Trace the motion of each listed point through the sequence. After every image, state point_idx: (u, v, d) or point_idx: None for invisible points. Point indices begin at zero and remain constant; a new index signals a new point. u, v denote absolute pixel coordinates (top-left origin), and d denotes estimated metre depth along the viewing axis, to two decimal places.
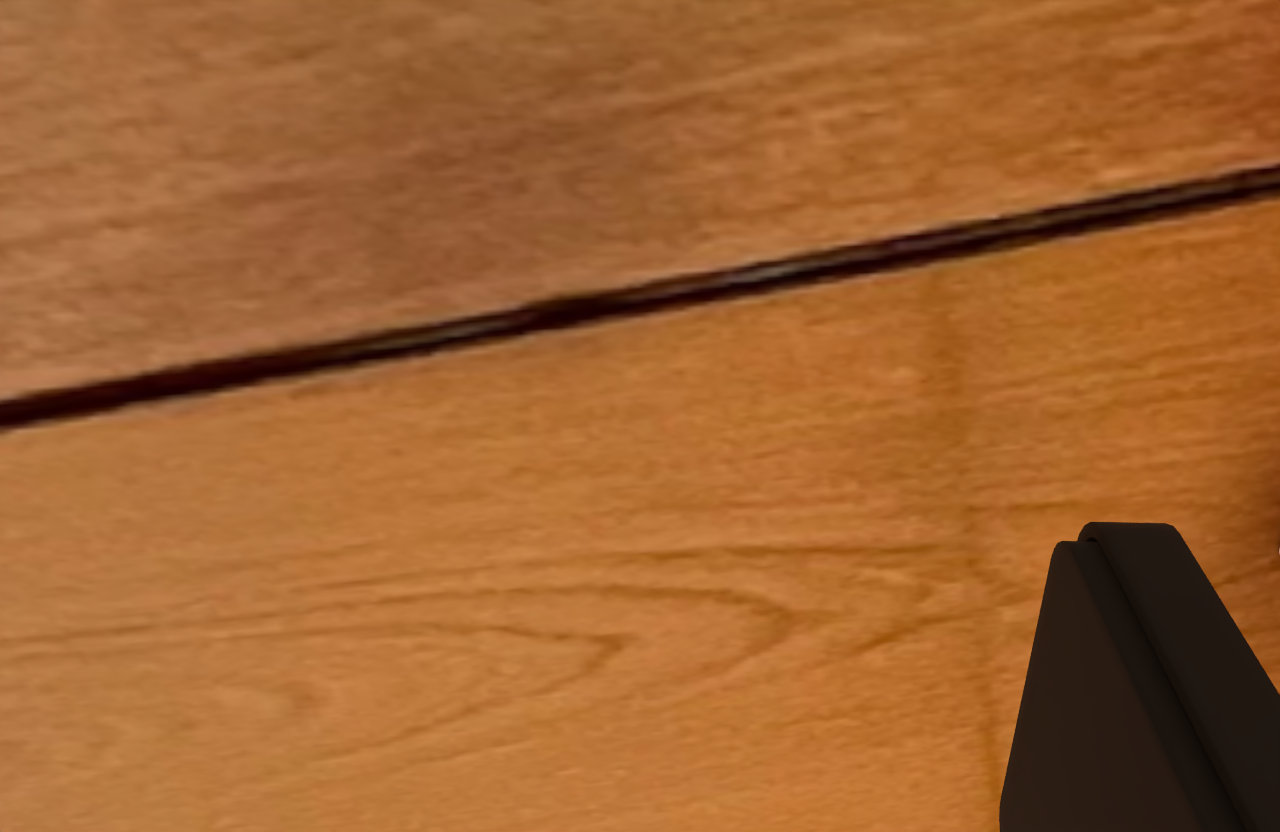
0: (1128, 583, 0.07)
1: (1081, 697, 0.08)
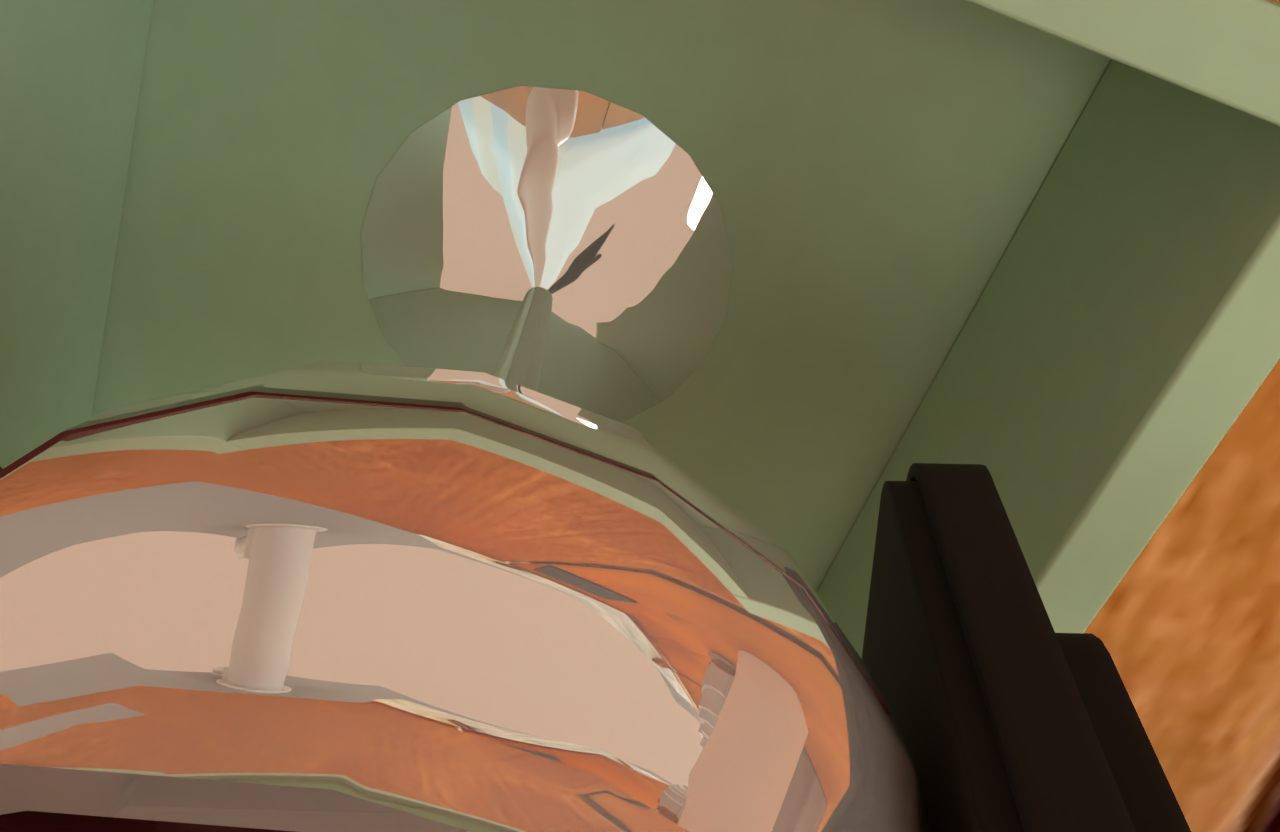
0: (933, 514, 0.08)
1: (894, 621, 0.08)
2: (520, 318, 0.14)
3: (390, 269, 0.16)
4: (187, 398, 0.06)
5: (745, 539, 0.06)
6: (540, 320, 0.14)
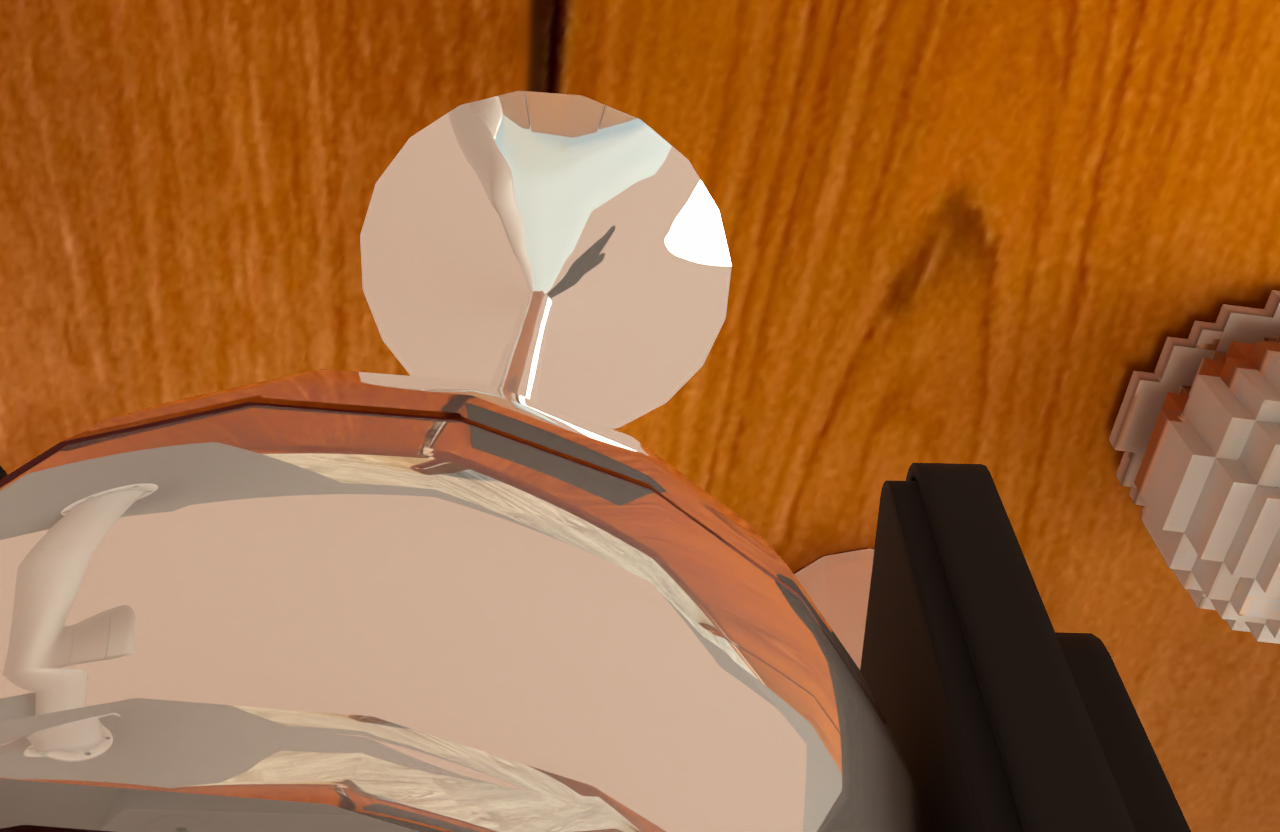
0: (933, 515, 0.08)
1: (894, 621, 0.08)
2: (519, 323, 0.14)
3: (389, 274, 0.16)
4: (186, 408, 0.06)
5: (742, 548, 0.06)
6: (539, 325, 0.14)
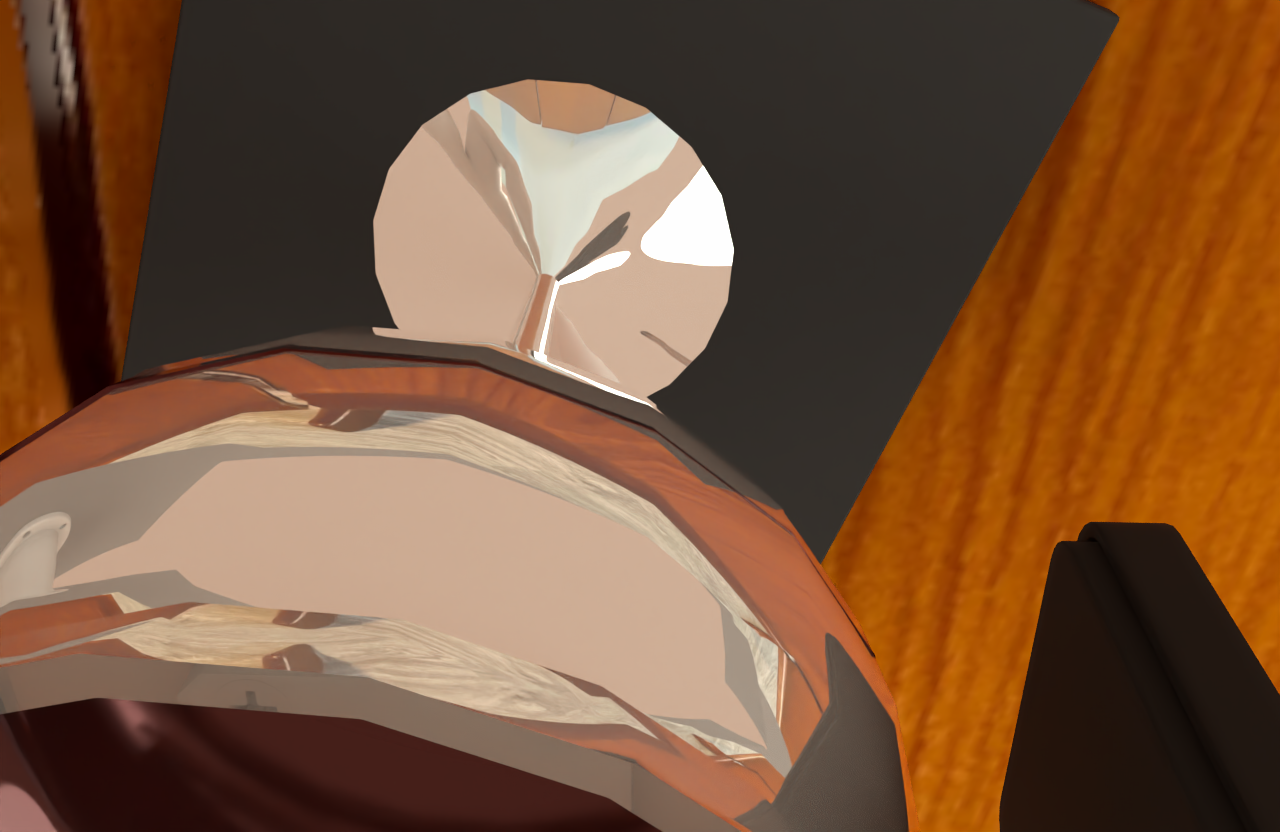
0: (1128, 583, 0.07)
1: (1081, 697, 0.08)
2: (527, 303, 0.15)
3: (401, 257, 0.16)
4: (223, 357, 0.07)
5: (739, 489, 0.07)
6: (546, 305, 0.15)
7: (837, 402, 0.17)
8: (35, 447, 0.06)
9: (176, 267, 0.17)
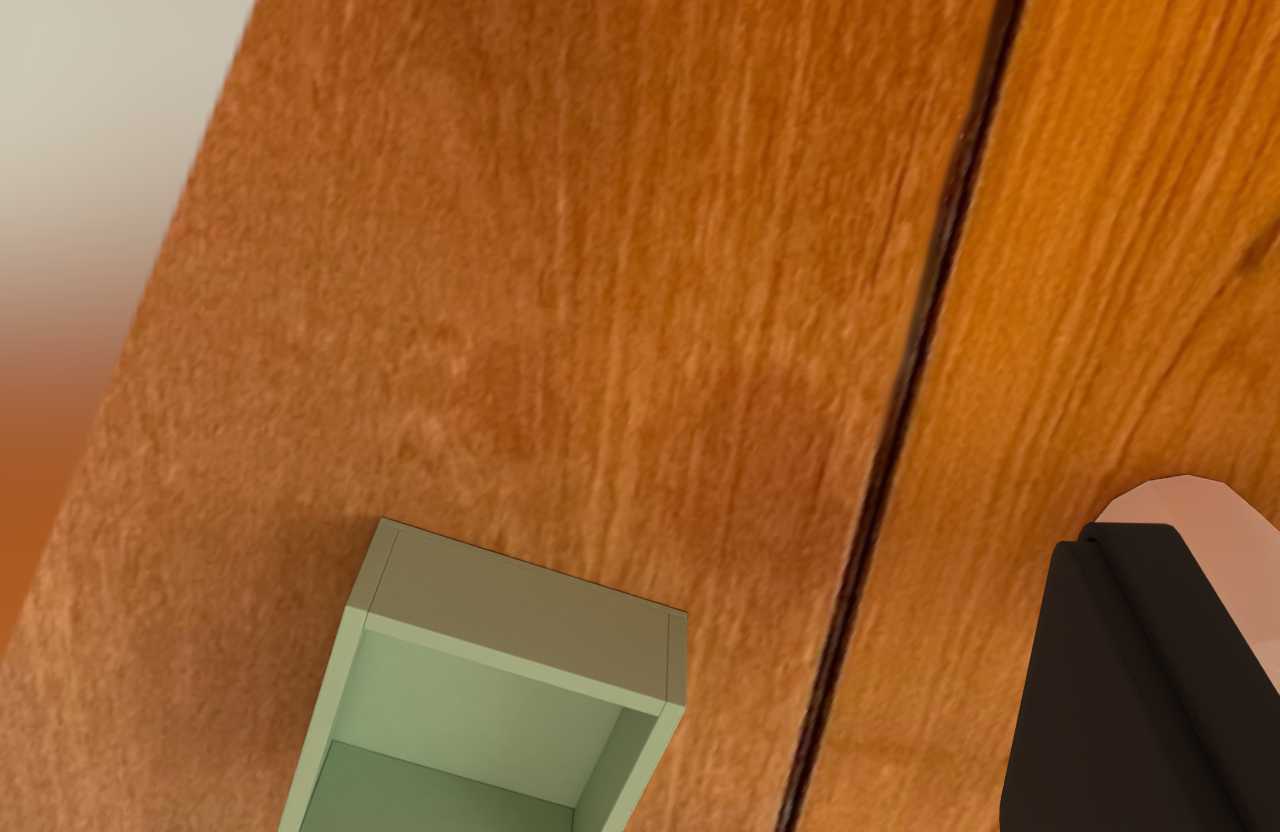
0: (1128, 583, 0.07)
1: (1081, 697, 0.08)
2: None
3: None
4: None
5: None
6: None
7: None
8: None
9: None
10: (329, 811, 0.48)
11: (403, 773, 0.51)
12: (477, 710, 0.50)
